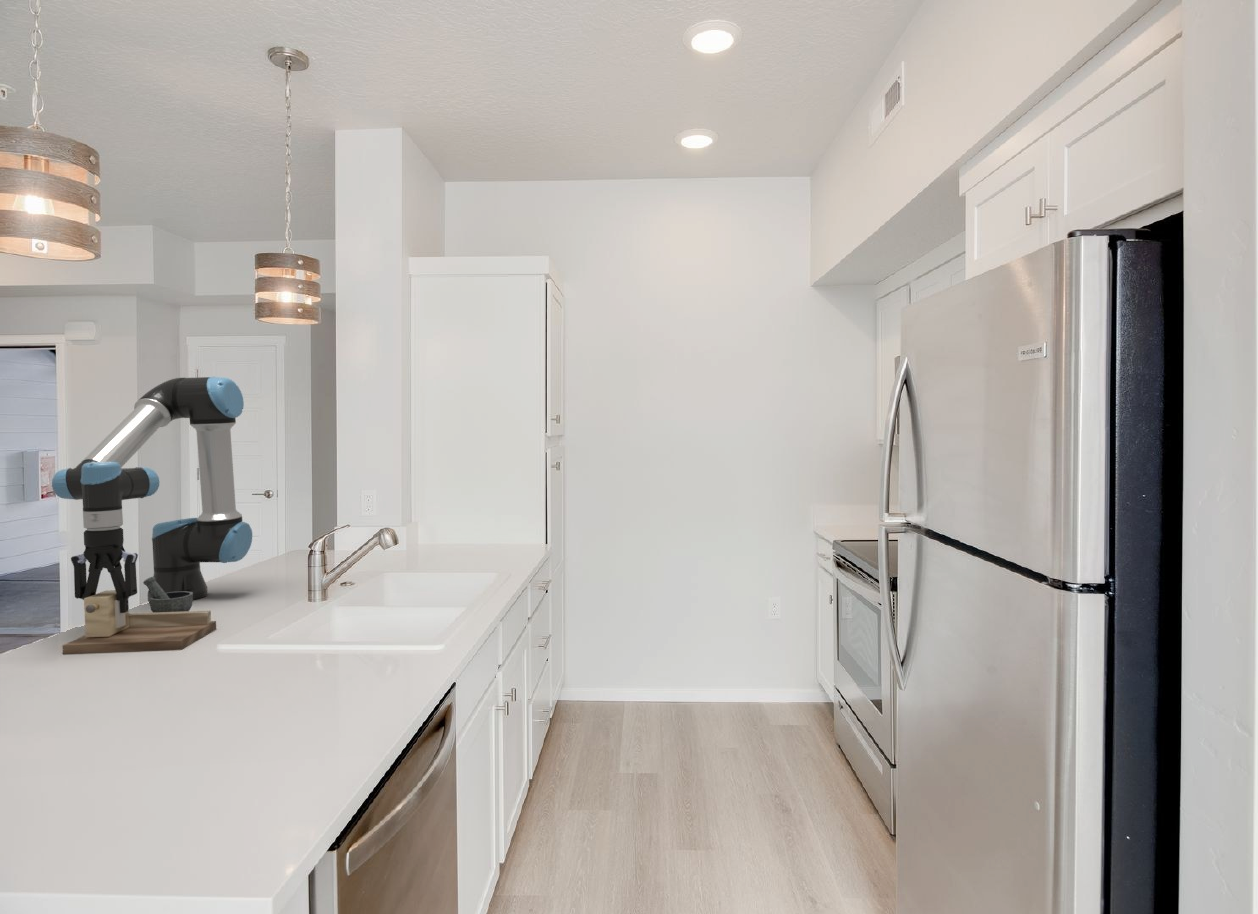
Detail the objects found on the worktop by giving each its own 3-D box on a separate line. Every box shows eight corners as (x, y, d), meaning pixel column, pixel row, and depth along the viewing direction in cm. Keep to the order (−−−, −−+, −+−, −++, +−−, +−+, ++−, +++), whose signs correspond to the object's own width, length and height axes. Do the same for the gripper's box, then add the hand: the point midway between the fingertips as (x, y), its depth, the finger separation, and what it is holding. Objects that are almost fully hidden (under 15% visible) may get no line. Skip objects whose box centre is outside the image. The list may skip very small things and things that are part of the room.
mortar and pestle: (199, 616, 196) (198, 571, 195) (186, 625, 186) (185, 578, 186) (152, 619, 193) (150, 573, 193) (137, 628, 184) (135, 580, 183)
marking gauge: (112, 625, 178) (110, 588, 178) (133, 624, 178) (132, 588, 178) (79, 640, 166) (77, 600, 166) (102, 639, 166) (101, 599, 166)
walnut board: (109, 633, 180) (108, 612, 180) (216, 629, 182) (215, 609, 182) (62, 654, 163) (61, 631, 163) (181, 649, 165) (180, 627, 165)
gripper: (51, 531, 167) (55, 633, 168) (135, 529, 168) (139, 629, 169) (72, 527, 174) (77, 624, 175) (153, 525, 176) (157, 621, 177)
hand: (107, 626), depth 172 cm, fingers closed on marking gauge, 5 cm apart
